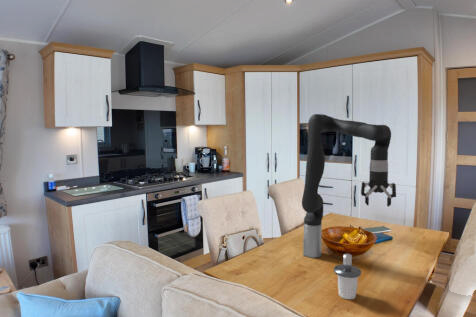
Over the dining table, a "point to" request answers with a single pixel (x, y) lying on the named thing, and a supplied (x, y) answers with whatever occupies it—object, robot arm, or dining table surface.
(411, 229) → the dining table surface
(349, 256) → the lid
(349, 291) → the white cup
